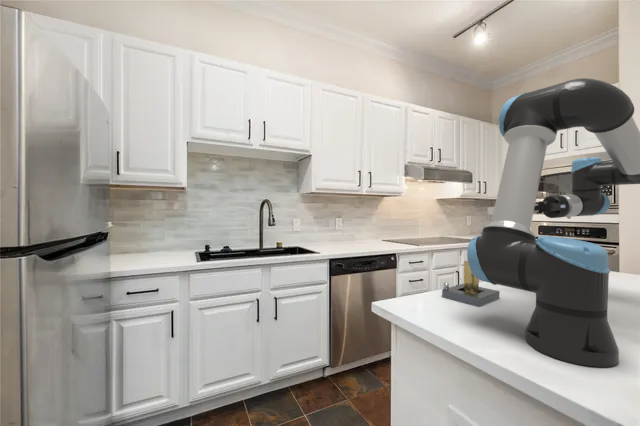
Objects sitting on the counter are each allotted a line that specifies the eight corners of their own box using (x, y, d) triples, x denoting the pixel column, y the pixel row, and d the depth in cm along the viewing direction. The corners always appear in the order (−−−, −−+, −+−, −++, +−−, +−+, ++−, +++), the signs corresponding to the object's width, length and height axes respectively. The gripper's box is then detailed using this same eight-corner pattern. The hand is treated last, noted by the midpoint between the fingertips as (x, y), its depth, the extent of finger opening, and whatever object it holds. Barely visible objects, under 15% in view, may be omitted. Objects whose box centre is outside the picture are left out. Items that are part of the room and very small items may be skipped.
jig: (479, 306, 90) (479, 291, 90) (441, 296, 100) (441, 283, 100) (499, 298, 98) (499, 285, 98) (462, 290, 108) (462, 277, 108)
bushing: (474, 300, 96) (475, 263, 96) (460, 297, 99) (461, 261, 99) (480, 298, 98) (481, 262, 98) (467, 295, 102) (468, 260, 102)
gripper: (599, 216, 88) (534, 221, 86) (531, 218, 113) (478, 221, 111) (597, 191, 88) (532, 195, 86) (529, 198, 113) (477, 201, 111)
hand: (501, 210), depth 98 cm, fingers open, 13 cm apart
